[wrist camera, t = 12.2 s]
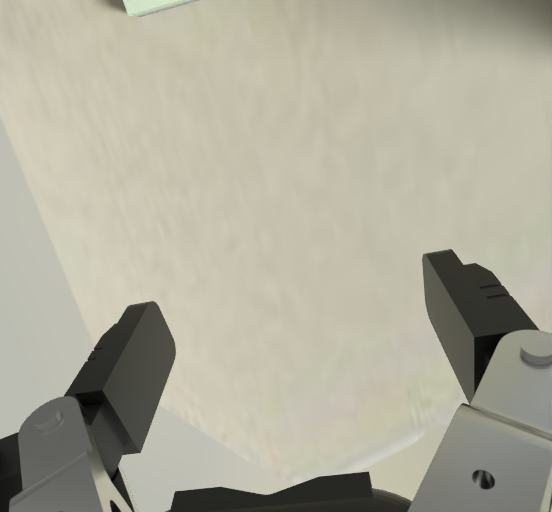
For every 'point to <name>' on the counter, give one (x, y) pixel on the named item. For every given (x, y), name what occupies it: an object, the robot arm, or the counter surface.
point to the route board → (151, 6)
